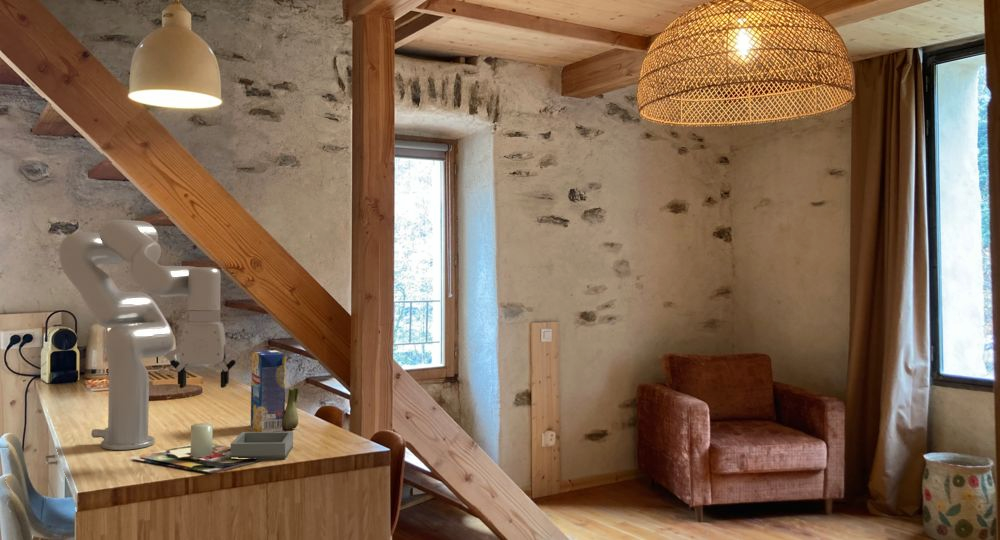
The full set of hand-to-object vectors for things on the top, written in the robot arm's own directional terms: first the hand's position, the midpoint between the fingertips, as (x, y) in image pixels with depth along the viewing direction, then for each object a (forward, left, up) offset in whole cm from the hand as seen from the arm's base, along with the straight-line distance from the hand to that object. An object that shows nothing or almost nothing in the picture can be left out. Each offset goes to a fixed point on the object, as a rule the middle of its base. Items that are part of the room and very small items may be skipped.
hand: (203, 387), depth 192 cm
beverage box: (+10, +34, -18) cm, 40 cm away
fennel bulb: (+16, +32, -17) cm, 40 cm away
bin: (+14, +4, -18) cm, 23 cm away
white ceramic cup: (0, 0, -18) cm, 18 cm away
